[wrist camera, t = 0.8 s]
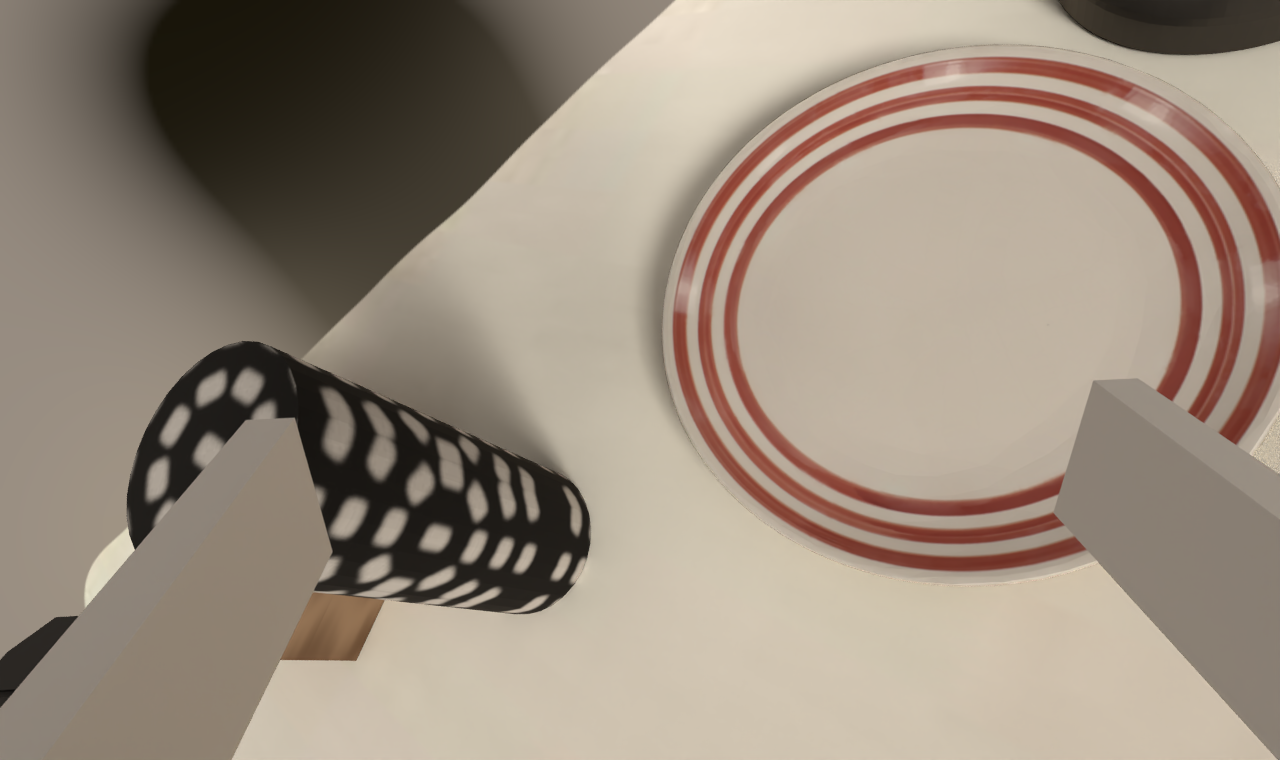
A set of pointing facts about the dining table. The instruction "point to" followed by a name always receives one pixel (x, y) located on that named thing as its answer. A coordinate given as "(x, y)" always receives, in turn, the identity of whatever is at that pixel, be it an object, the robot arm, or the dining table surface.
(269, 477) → the robot arm
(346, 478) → the white-spotted black cylinder
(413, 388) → the dining table surface
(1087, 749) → the dining table surface
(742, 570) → the dining table surface
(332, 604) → the square wooden tray
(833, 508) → the dinner plate
